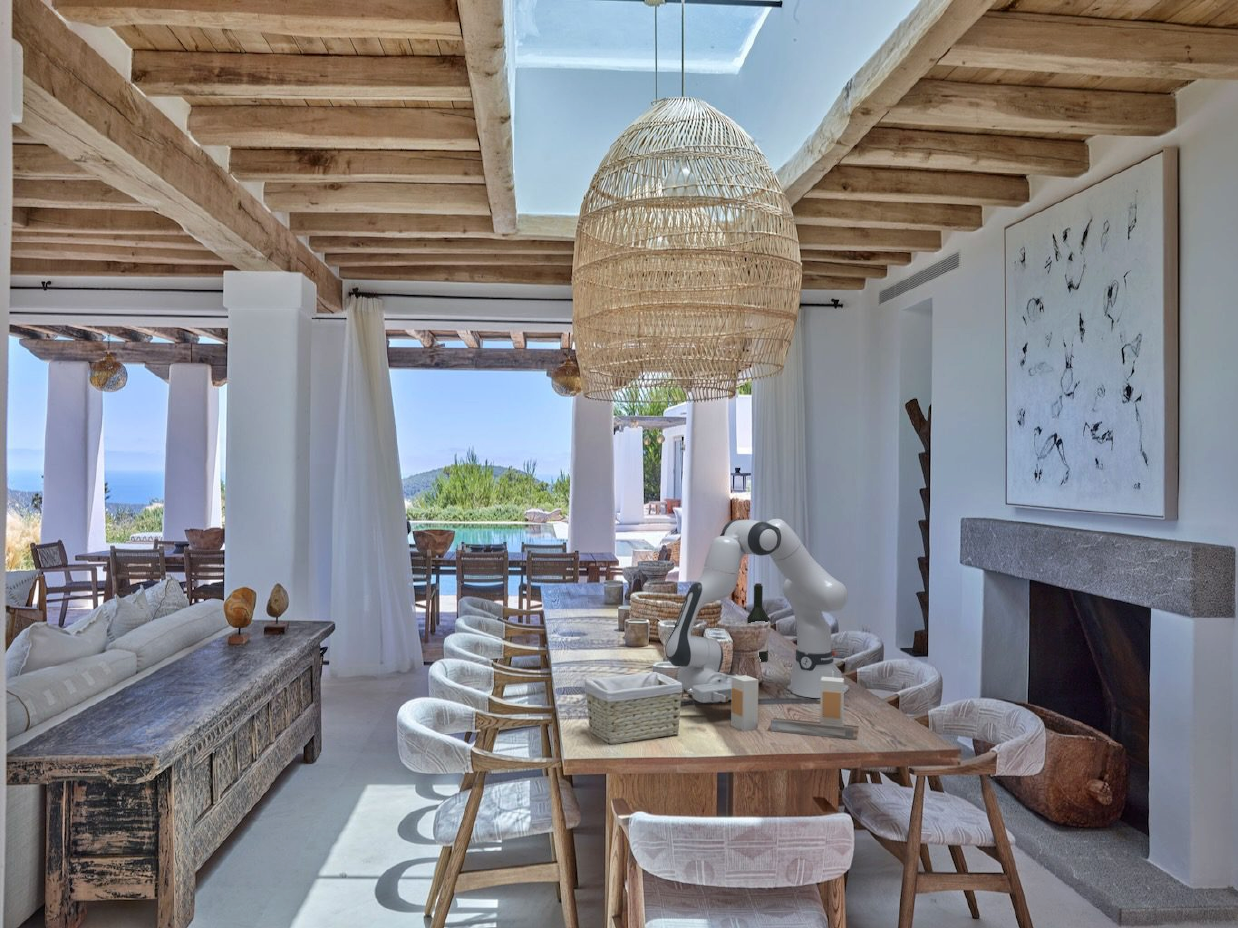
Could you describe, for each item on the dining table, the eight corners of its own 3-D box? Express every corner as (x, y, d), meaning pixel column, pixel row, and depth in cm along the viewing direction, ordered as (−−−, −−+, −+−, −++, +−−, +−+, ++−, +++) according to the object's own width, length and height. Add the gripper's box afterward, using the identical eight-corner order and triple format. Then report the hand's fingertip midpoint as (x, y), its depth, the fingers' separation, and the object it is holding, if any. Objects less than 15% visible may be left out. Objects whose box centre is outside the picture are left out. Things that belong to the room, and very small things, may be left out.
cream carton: (745, 723, 253) (745, 675, 253) (757, 729, 248) (758, 679, 248) (730, 725, 251) (730, 676, 251) (742, 731, 245) (743, 681, 246)
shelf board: (773, 722, 254) (773, 707, 254) (858, 731, 247) (859, 715, 247) (766, 736, 241) (767, 719, 241) (856, 745, 234) (856, 728, 234)
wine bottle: (765, 658, 347) (766, 582, 347) (770, 662, 338) (771, 585, 339) (744, 657, 346) (745, 582, 347) (748, 662, 338) (749, 584, 338)
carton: (821, 726, 246) (822, 676, 246) (843, 728, 244) (844, 678, 245) (820, 731, 241) (820, 680, 241) (842, 733, 239) (842, 682, 240)
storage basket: (606, 747, 229) (606, 691, 230) (581, 730, 244) (582, 677, 244) (684, 736, 240) (685, 682, 240) (656, 721, 254) (657, 670, 255)
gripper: (684, 679, 259) (709, 690, 247) (741, 673, 268) (768, 683, 256) (683, 701, 259) (709, 712, 246) (740, 693, 268) (768, 704, 256)
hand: (740, 697), depth 251 cm, fingers open, 8 cm apart
